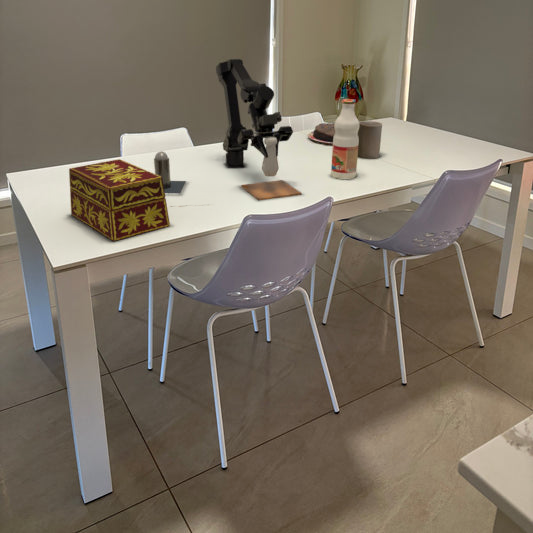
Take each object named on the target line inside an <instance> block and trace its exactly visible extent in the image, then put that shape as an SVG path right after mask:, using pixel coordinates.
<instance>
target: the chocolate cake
mask: <svg viewBox="0 0 533 533" xmlns="http://www.w3.org/2000/svg"><path fill="white" fill-rule="evenodd" d="M334 124H335V122H334V123H332V122H331V123H330V122H327V123H319V124H318V125H315V127H314V130H313V131H311V132H309V133H308V134H307V137H308V138H309V139H310V140H311V141H312V143H318V144H324V145H326V146H333V137H334V135H335V128H334Z"/></svg>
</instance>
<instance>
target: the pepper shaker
mask: <svg viewBox="0 0 533 533" xmlns="http://www.w3.org/2000/svg"><path fill="white" fill-rule="evenodd" d="M170 165H171V164H170V157H169V156H168V154H167V153H166V152H165V151H158V152H157V153H155V156H154V158H153V166H154V168H153V169H154V174H156V175H158V176H161V177H162V179H163V185H164V189H167V188H170V187H171V181H172V180H171V166H170Z"/></svg>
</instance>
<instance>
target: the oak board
mask: <svg viewBox="0 0 533 533" xmlns="http://www.w3.org/2000/svg"><path fill="white" fill-rule="evenodd" d="M240 187H241V188H242V189H243V190H245V191H246V192H247V193H249V194H250V195H251V196H252V197H254V198H255V199H256V200H257V201H265V200H271V199H279V198H286V197H293V196H294V197H295V196H300V195H302V192H301V191H300V190H298V189H296V188H295V187H293V186H292V185H290V184H289V183H287V182H286V181H284V180H282V179H281V180H280V179H279V180H272V181H271V180H270V181H264V182H256V183H255V182H254V183H247V184H240Z"/></svg>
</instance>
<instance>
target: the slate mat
mask: <svg viewBox="0 0 533 533" xmlns="http://www.w3.org/2000/svg"><path fill="white" fill-rule="evenodd" d="M186 183H187V181H186V180H171V187H170V188H167V189H164V191H165V194H180V195H181V192H182V190H183V189H184V187H185V185H186Z"/></svg>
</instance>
